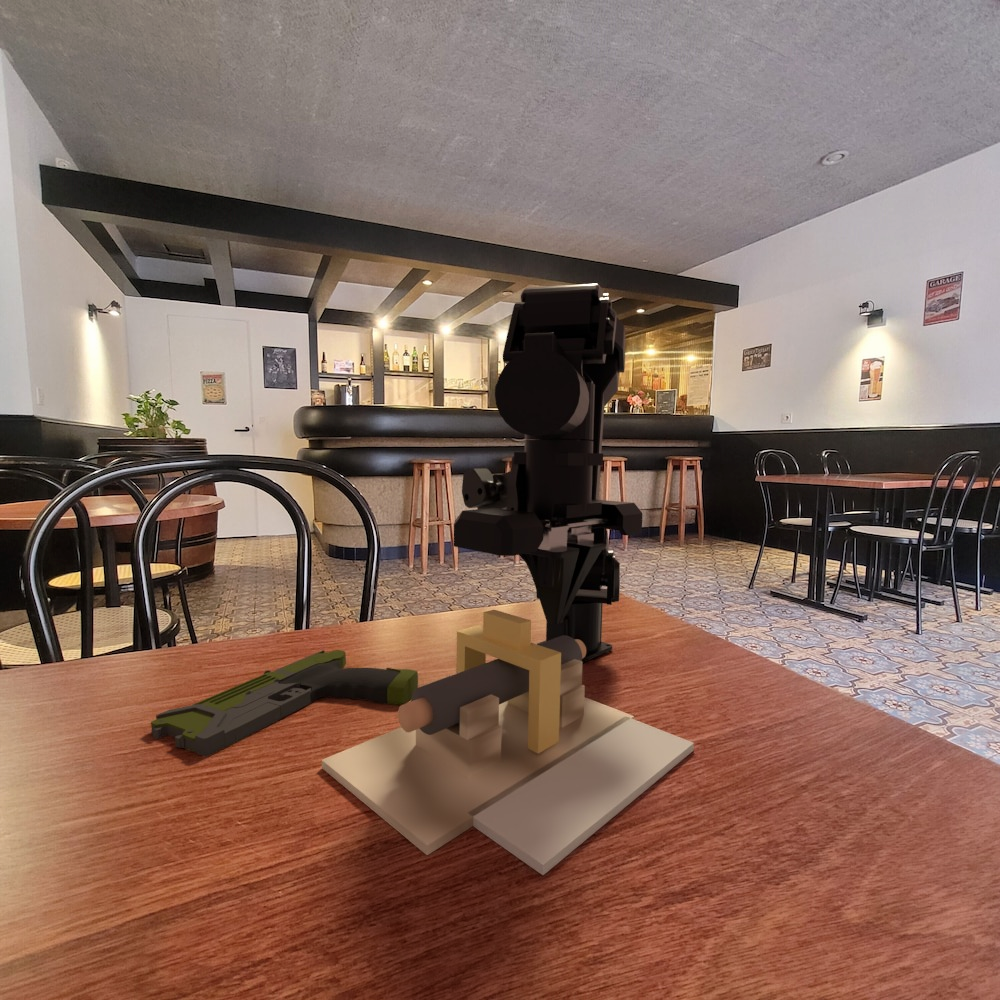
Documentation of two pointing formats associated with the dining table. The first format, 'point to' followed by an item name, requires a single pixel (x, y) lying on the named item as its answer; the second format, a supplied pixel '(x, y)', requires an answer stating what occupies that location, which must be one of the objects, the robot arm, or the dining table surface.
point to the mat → (580, 792)
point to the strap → (514, 646)
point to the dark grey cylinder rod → (474, 689)
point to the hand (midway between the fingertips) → (554, 622)
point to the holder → (463, 761)
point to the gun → (279, 700)
